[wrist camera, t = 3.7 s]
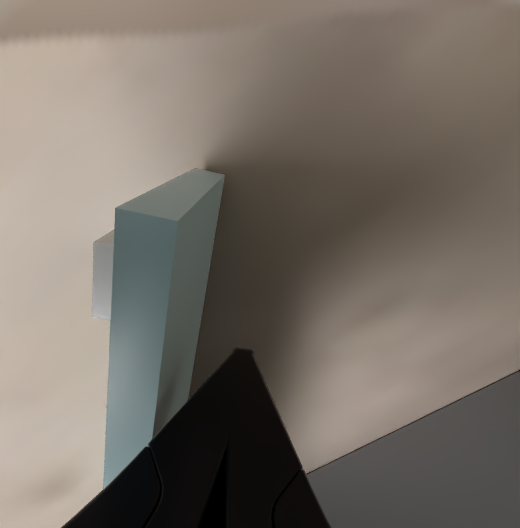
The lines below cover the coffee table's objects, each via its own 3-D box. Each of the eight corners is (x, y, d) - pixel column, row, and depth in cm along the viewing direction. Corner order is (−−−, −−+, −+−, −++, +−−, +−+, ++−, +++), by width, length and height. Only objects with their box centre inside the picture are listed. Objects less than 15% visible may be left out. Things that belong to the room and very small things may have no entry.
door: (166, 543, 15) (122, 720, 10) (124, 537, 15) (61, 713, 10) (228, 175, 9) (185, 222, 4) (157, 159, 9) (35, 191, 4)
